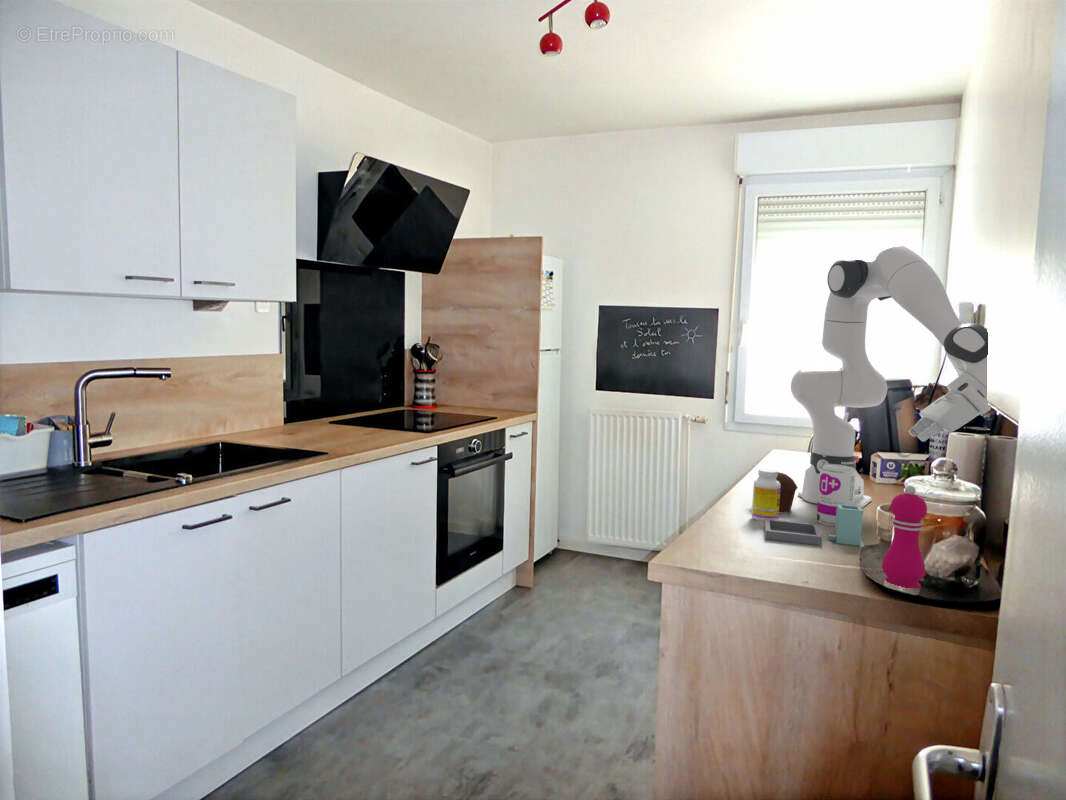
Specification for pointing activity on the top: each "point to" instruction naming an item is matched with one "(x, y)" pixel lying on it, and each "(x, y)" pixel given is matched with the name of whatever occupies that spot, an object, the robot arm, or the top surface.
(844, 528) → the collar
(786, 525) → the tray
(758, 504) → the supplement bottle
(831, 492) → the supplement can
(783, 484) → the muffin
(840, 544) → the square peg base
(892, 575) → the pepper mill
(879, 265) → the robot arm
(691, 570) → the top surface
